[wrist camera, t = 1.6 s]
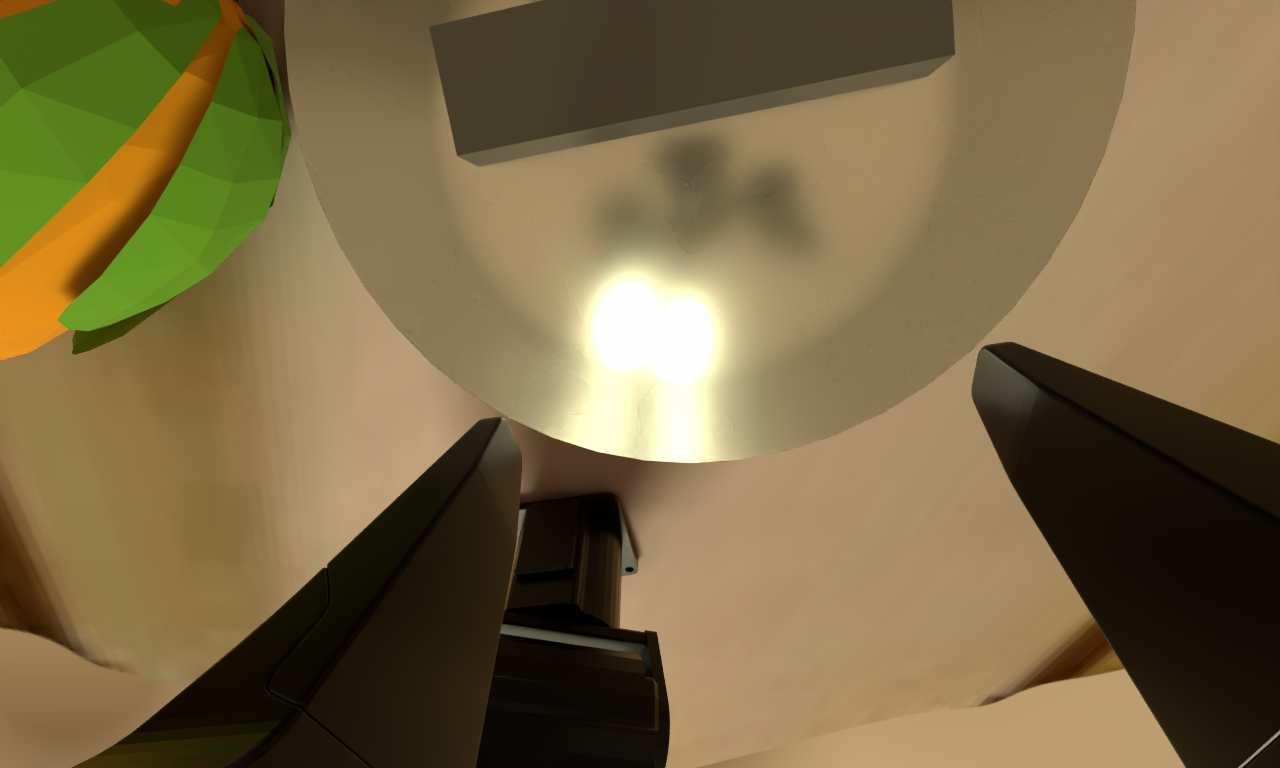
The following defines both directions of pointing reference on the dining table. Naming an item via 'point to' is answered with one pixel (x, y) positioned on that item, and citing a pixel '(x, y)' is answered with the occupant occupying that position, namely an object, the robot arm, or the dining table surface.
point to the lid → (701, 196)
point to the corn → (127, 158)
